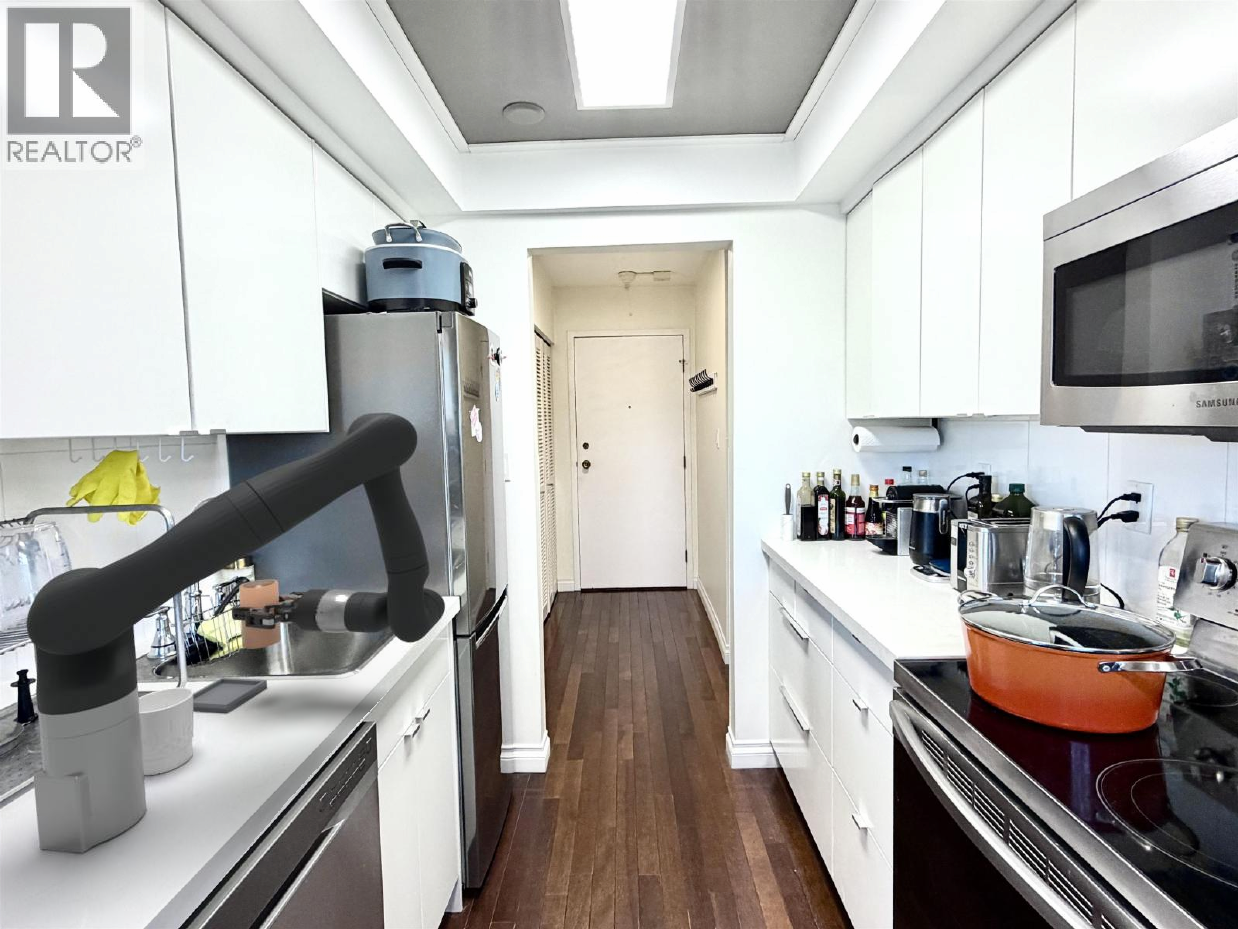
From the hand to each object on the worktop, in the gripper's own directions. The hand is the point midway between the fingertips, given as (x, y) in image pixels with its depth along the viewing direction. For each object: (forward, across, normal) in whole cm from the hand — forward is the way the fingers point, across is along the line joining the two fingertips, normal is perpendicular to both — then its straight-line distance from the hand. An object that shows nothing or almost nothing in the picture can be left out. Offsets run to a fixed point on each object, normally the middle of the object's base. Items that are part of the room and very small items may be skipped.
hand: (248, 607), depth 103 cm
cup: (-2, 0, +6) cm, 7 cm away
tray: (+6, 0, +18) cm, 19 cm away
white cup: (-1, +19, +18) cm, 26 cm away
